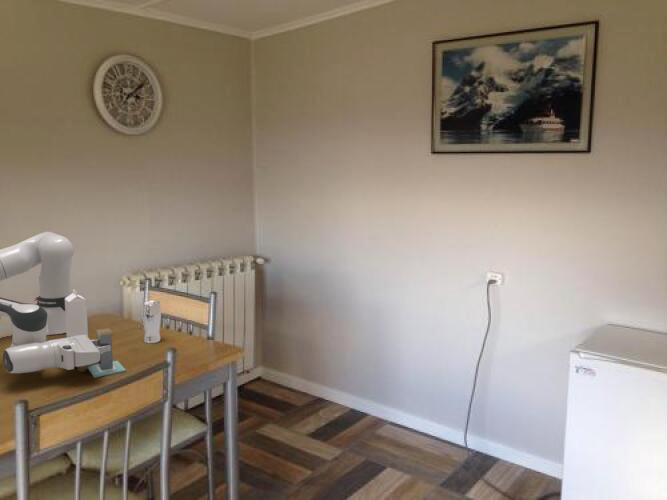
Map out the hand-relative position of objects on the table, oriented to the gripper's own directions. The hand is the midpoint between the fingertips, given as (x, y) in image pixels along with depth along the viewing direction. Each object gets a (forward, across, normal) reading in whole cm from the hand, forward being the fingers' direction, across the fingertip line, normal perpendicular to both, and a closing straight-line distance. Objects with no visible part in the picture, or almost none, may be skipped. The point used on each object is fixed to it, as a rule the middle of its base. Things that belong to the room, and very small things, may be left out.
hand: (107, 344), depth 192 cm
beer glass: (+22, -22, -9) cm, 32 cm away
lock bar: (-1, 0, -8) cm, 8 cm away
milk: (-4, -26, -9) cm, 28 cm away
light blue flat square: (-1, 0, -8) cm, 9 cm away
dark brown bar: (-4, -7, -8) cm, 11 cm away
